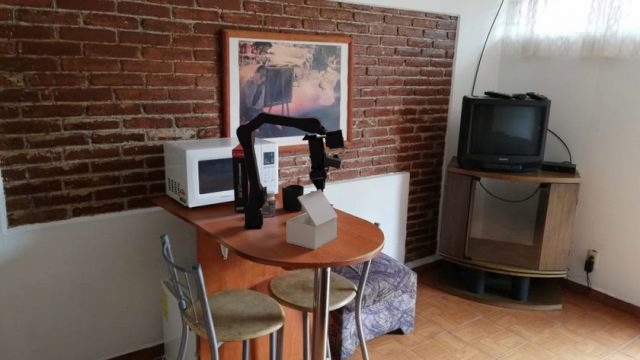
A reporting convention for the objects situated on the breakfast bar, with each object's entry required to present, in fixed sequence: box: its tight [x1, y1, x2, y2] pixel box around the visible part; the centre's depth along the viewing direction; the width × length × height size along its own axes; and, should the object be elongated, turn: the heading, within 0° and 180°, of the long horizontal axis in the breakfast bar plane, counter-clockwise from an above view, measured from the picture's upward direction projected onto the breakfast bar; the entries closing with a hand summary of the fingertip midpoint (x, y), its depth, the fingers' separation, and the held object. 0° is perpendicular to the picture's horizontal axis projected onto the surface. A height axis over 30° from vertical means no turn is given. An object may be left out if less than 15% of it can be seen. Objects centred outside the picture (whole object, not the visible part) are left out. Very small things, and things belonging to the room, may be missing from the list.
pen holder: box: [281, 184, 305, 213], centre depth 207 cm, size 9×9×10 cm
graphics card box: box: [231, 142, 250, 214], centre depth 207 cm, size 17×7×27 cm, turn 179°
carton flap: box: [298, 189, 338, 227], centre depth 166 cm, size 12×14×1 cm
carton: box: [285, 212, 338, 251], centre depth 169 cm, size 12×14×8 cm
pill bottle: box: [261, 190, 277, 218], centre depth 198 cm, size 6×6×10 cm
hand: (322, 191), depth 179 cm, fingers open, 9 cm apart
